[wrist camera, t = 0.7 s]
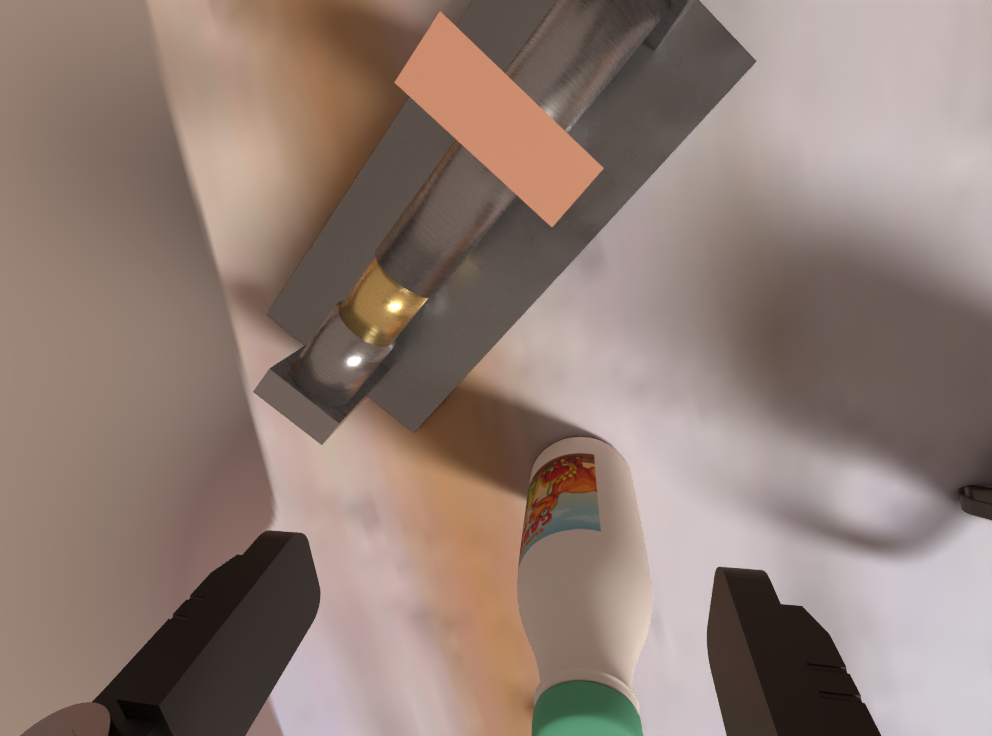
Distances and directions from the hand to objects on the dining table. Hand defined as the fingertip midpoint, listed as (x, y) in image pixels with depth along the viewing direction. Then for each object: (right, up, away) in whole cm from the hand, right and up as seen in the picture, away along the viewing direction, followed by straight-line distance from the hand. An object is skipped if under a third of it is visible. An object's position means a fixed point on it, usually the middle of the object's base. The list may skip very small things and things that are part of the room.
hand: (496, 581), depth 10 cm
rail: (-1, +15, +23) cm, 27 cm away
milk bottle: (+7, -4, +29) cm, 30 cm away
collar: (+1, +17, +19) cm, 26 cm away
